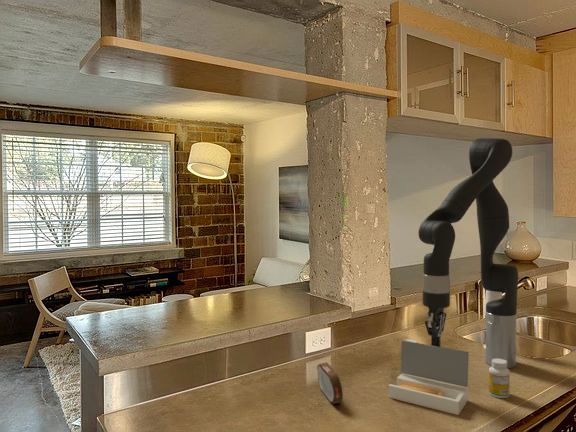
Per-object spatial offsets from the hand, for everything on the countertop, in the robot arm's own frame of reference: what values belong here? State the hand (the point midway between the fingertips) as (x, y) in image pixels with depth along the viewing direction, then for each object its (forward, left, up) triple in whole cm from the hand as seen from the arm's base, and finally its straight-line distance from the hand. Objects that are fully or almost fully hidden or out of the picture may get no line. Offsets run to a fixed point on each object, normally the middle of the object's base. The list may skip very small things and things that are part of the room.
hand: (435, 348), depth 135 cm
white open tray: (+7, 0, -12) cm, 14 cm away
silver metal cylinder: (-46, +7, -12) cm, 48 cm away
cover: (+3, 0, -3) cm, 4 cm away
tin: (+21, -24, -12) cm, 34 cm away
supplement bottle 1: (-13, -12, -12) cm, 22 cm away
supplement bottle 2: (-6, +16, -12) cm, 21 cm away
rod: (+9, -2, -12) cm, 15 cm away
